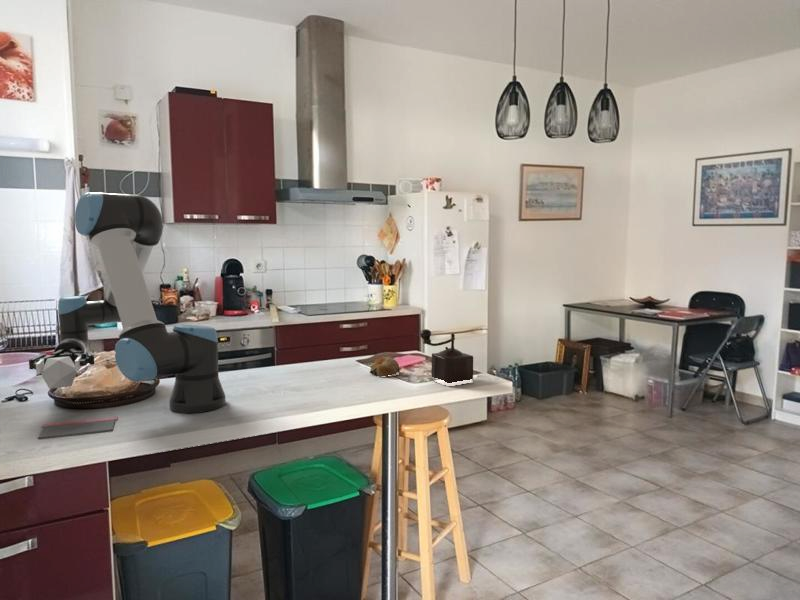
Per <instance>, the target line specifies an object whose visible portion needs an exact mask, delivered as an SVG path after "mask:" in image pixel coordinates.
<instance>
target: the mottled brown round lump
mask: <svg viewBox="0 0 800 600" xmlns="http://www.w3.org/2000/svg"><path fill="white" fill-rule="evenodd" d="M397 372H399V373H400V366H399V363H398V361H397V360H395V359H394V358H392V357H390V356H382V357H380V358H377V359H375V361H374V362H373V363H372V364H371V365H370V370H369V373H370V374H372V376H373V375H374V376H373V377H377V376H388V375H392V374H396V373H397Z"/></svg>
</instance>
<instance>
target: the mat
mask: <svg viewBox="0 0 800 600" xmlns="http://www.w3.org/2000/svg"><path fill="white" fill-rule="evenodd" d="M115 423H116V420H108V421H98V422H88V423H79V424H69V425H59V426H49V427H44V428H43V427H42V428H43V429H42V430H41V432H40V433H39V434H38V436H37V439H38V440H41V439H48V438H49V439H51V438H60V437H69V436H77V435H85V434H95V433H105V432H112V431H114V425H115Z"/></svg>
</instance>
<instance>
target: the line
mask: <svg viewBox="0 0 800 600" xmlns="http://www.w3.org/2000/svg"><path fill="white" fill-rule="evenodd" d="M118 419H119V417H118V416H113V417H105V418H104V417H103V418H95V419H94V418H93V419H83V420H74V421H65V422H54V423H45V424H43V425H42V428H44V427H49V426H59V425H69V424H79V423H88V422H98V421H108V420H115V421H117V420H118Z"/></svg>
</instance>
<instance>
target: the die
mask: <svg viewBox="0 0 800 600" xmlns="http://www.w3.org/2000/svg"><path fill="white" fill-rule="evenodd" d="M77 373H78V371H75V365H74V363H73V361H72V360H71V358H70V357H69V356H67V357H57V358H47V361H46V363H45V365H44V367H43V370H42V372H41V374H40V375H41V378H42V379H43V380H44V382H45V383H46V385H47V387H48V389H49V390H53V389H60V388H68V387H72V386H73V383H74V380H75V379H76V376H77Z"/></svg>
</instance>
